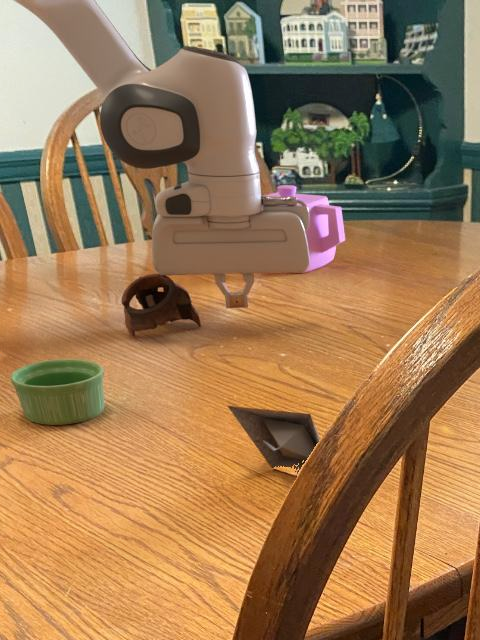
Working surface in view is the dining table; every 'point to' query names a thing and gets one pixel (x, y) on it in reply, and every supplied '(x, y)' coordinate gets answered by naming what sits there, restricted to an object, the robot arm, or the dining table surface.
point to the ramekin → (60, 391)
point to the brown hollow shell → (157, 303)
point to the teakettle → (318, 226)
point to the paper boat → (279, 434)
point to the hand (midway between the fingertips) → (237, 307)
